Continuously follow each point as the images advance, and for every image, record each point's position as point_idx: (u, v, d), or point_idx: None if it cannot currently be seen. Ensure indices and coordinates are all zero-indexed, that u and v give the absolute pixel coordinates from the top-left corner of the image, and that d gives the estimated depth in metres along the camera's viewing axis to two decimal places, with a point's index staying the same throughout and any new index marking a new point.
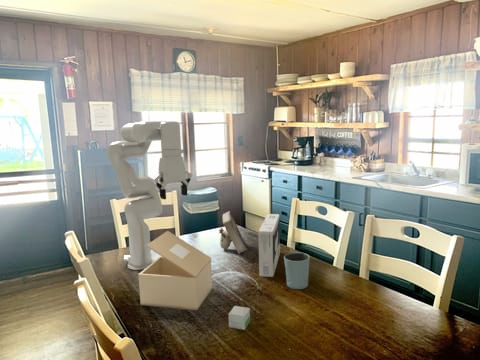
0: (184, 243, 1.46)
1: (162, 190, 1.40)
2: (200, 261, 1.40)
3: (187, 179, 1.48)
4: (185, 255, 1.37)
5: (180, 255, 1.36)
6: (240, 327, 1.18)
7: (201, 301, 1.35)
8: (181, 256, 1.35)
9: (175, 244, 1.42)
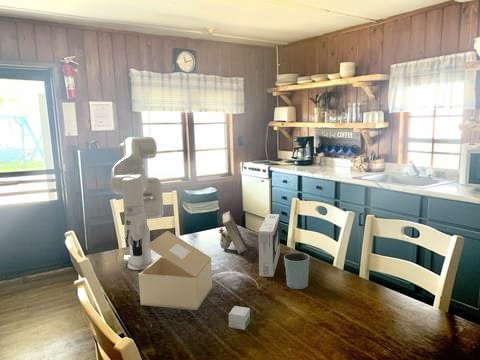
0: (184, 243, 1.46)
1: None
2: (200, 261, 1.40)
3: None
4: (185, 255, 1.37)
5: (180, 255, 1.36)
6: (240, 327, 1.18)
7: (201, 301, 1.35)
8: (181, 256, 1.35)
9: (175, 244, 1.42)
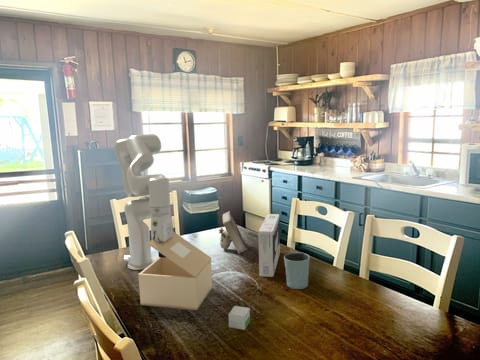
0: (185, 242, 1.46)
1: None
2: (200, 260, 1.40)
3: None
4: (186, 254, 1.37)
5: (181, 254, 1.36)
6: (240, 327, 1.18)
7: (201, 301, 1.35)
8: (181, 255, 1.35)
9: (176, 242, 1.41)
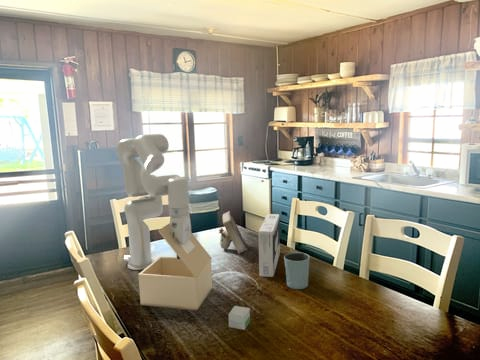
0: None
1: None
2: (202, 259, 1.39)
3: None
4: (190, 250, 1.37)
5: (186, 249, 1.35)
6: (240, 327, 1.18)
7: (201, 301, 1.35)
8: (186, 251, 1.35)
9: None
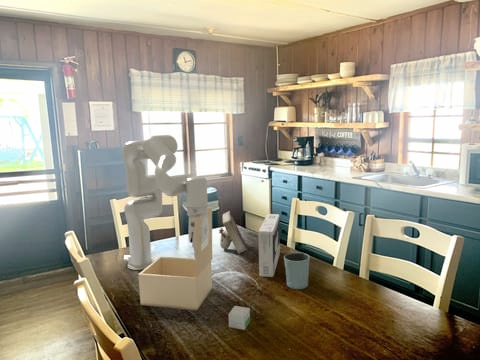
0: (210, 230, 1.42)
1: None
2: (206, 259, 1.39)
3: None
4: (204, 247, 1.35)
5: (202, 245, 1.33)
6: (240, 327, 1.18)
7: (201, 301, 1.35)
8: (202, 247, 1.33)
9: None
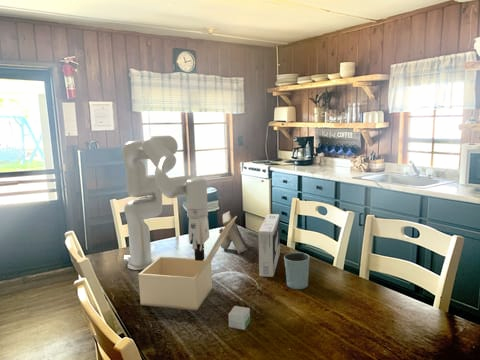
0: (225, 236, 1.41)
1: None
2: (209, 261, 1.39)
3: None
4: (214, 252, 1.34)
5: (214, 250, 1.32)
6: (240, 327, 1.18)
7: (201, 301, 1.35)
8: (213, 252, 1.32)
9: (224, 235, 1.36)
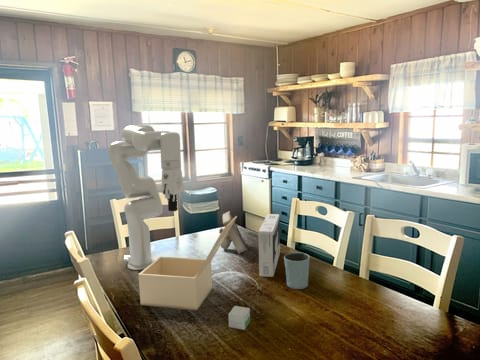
0: (225, 236, 1.41)
1: None
2: (209, 261, 1.39)
3: None
4: (214, 252, 1.34)
5: (214, 250, 1.32)
6: (240, 327, 1.18)
7: (201, 301, 1.35)
8: (213, 252, 1.32)
9: (224, 235, 1.36)
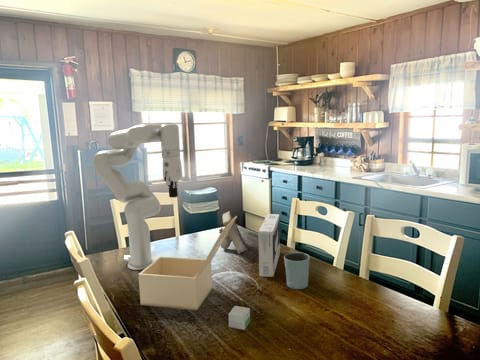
0: (225, 236, 1.41)
1: None
2: (209, 261, 1.39)
3: None
4: (214, 252, 1.34)
5: (214, 250, 1.32)
6: (240, 327, 1.18)
7: (201, 301, 1.35)
8: (213, 252, 1.32)
9: (224, 235, 1.36)
